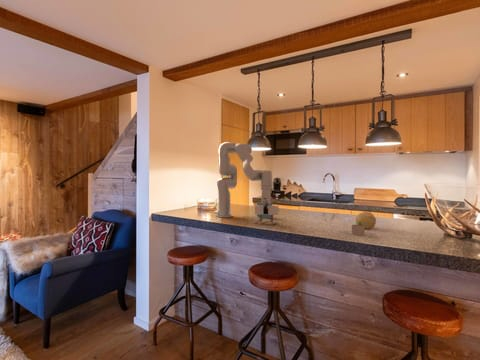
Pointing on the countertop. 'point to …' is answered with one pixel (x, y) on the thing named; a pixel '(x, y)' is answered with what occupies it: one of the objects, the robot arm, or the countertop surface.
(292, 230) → the countertop surface
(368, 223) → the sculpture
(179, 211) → the countertop surface
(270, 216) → the data package
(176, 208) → the countertop surface
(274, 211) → the power strip
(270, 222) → the post plate
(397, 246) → the countertop surface
